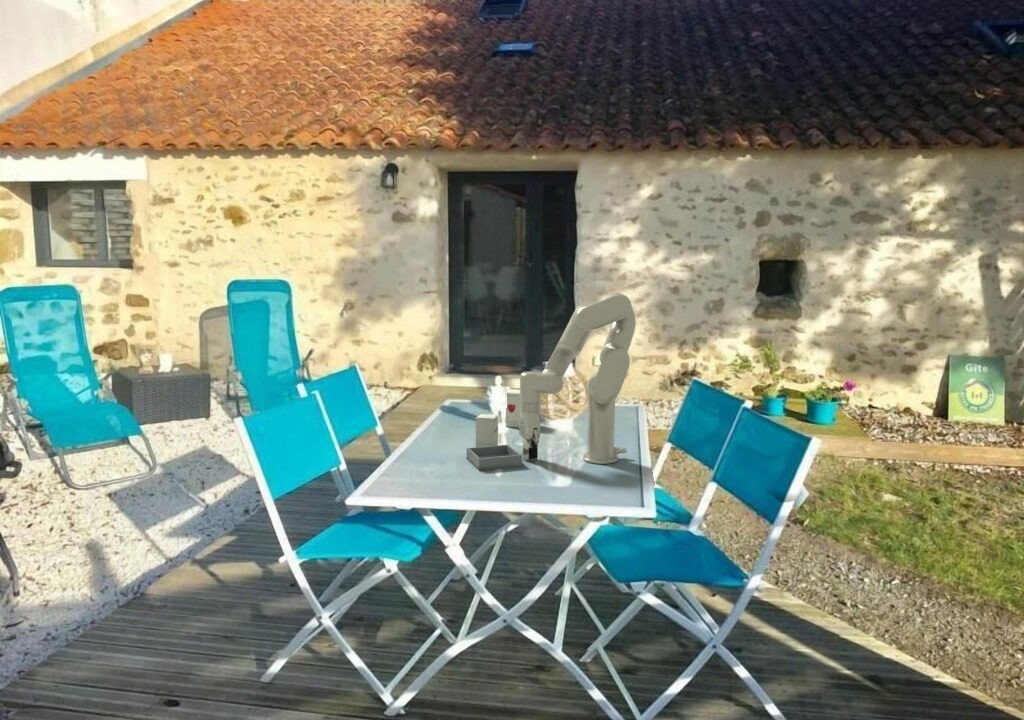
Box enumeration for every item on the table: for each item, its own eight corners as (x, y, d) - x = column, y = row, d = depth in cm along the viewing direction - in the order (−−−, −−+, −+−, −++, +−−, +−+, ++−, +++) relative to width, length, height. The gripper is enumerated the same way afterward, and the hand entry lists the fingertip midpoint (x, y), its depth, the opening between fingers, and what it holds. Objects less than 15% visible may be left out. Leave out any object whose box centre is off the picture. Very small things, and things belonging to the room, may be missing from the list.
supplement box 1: (494, 451, 286) (494, 418, 284) (475, 450, 287) (474, 417, 286) (498, 446, 293) (498, 414, 291) (479, 445, 295) (479, 413, 293)
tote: (507, 455, 281) (507, 444, 280) (522, 466, 266) (522, 455, 266) (466, 458, 276) (466, 448, 275) (478, 470, 261) (478, 459, 261)
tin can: (534, 457, 278) (534, 435, 277) (539, 461, 273) (539, 439, 272) (520, 458, 276) (520, 436, 275) (525, 462, 272) (525, 440, 270)
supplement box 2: (505, 427, 326) (504, 392, 324) (510, 422, 334) (510, 388, 332) (525, 428, 324) (525, 393, 321) (530, 423, 332) (530, 389, 330)
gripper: (512, 402, 279) (512, 451, 281) (528, 412, 263) (528, 463, 265) (531, 401, 281) (531, 449, 284) (549, 410, 265) (548, 461, 268)
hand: (530, 455), depth 275 cm, fingers closed on tin can, 5 cm apart
